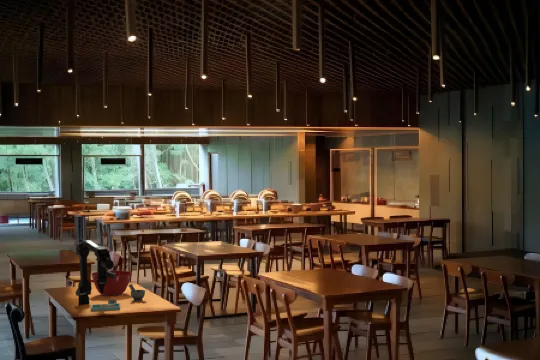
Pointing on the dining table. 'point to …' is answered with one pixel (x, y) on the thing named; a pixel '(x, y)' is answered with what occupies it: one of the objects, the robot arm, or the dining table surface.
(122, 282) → the mixing bowl
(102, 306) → the birch pin
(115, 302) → the grey cup
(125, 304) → the dining table surface
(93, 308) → the teal tray
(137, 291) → the mortar and pestle
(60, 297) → the dining table surface
